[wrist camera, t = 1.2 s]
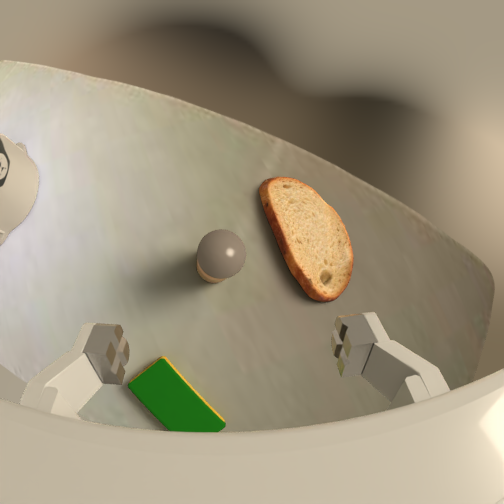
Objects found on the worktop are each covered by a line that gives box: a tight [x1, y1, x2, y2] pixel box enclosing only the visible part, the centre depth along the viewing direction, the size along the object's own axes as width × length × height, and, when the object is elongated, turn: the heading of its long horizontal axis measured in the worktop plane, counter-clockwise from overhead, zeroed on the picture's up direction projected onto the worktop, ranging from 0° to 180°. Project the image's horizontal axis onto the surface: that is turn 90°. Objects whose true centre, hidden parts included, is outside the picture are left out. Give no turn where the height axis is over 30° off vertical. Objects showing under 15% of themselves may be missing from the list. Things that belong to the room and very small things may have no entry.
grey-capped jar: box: [197, 230, 246, 283], centre depth 38 cm, size 5×5×11 cm
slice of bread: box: [259, 177, 353, 302], centre depth 46 cm, size 18×18×4 cm
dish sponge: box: [128, 356, 226, 432], centre depth 38 cm, size 7×14×2 cm, turn 39°
